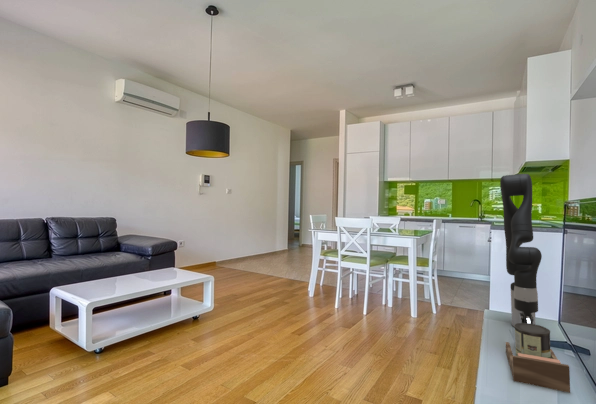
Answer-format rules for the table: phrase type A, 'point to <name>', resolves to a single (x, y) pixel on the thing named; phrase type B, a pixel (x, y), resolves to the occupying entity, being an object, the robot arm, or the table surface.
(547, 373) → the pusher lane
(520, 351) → the coffee can
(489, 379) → the table surface
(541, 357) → the pusher paddle
